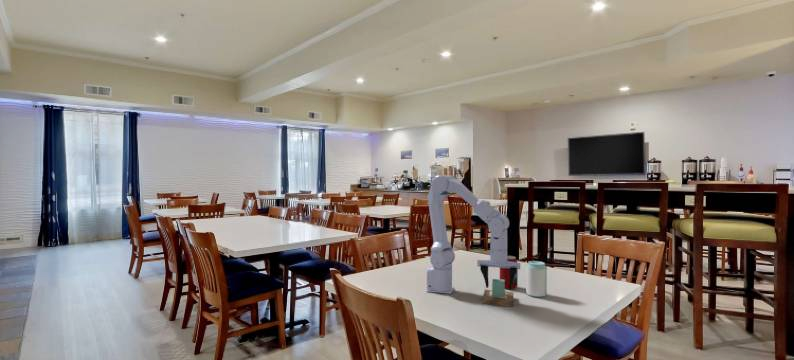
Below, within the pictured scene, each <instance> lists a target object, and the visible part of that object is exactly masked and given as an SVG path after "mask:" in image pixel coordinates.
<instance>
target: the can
mask: <svg viewBox="0 0 794 360" xmlns="http://www.w3.org/2000/svg"><path fill="white" fill-rule="evenodd" d="M527 263H528V264H526V267H525V269H526V271H525V272H526V273H525V275H526V276H525V277H526V278H525V279H526V280H525V283H526V284H525V288H526V289H525V293H526V294H527V295H528V296H530V297H532V298H544V297H545V296H547V294H548V293H547V291H548V290H547V285H548V284H547V282H548V279H547V278H548V277H547V275H548V273H547V272H548V269H547V266H546V263H545V262H543V261H539V260H536V261H535V260H532V261H531V260H530V261H528V262H527Z"/></svg>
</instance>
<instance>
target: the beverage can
mask: <svg viewBox="0 0 794 360" xmlns="http://www.w3.org/2000/svg"><path fill="white" fill-rule="evenodd" d="M507 261H509V262H517V263H519V262H518V260H517V258H516V256H513V255H507ZM509 270H510V268H499V279H502V280H505V290H509ZM518 270H519V269H517V273H516V275H515V277H514V279H513V282H512V285H511V290H514V289H516V288H517V287H518V278H519V276H518V272H519V271H518Z"/></svg>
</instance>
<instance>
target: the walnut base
mask: <svg viewBox="0 0 794 360" xmlns="http://www.w3.org/2000/svg"><path fill="white" fill-rule="evenodd" d="M482 304H483V305H493V306H504V307H514V292H513V291H505V295H504V297H498V296H492V289H484V292H483V296H482Z"/></svg>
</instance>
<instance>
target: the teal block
mask: <svg viewBox="0 0 794 360" xmlns="http://www.w3.org/2000/svg"><path fill="white" fill-rule="evenodd" d="M491 282H492V284H491V286H492V287H491V290H492V296H498V297H504V295H505V292H506V291H505V290H506V289H505V280H502V279H500V278H492V281H491Z"/></svg>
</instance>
